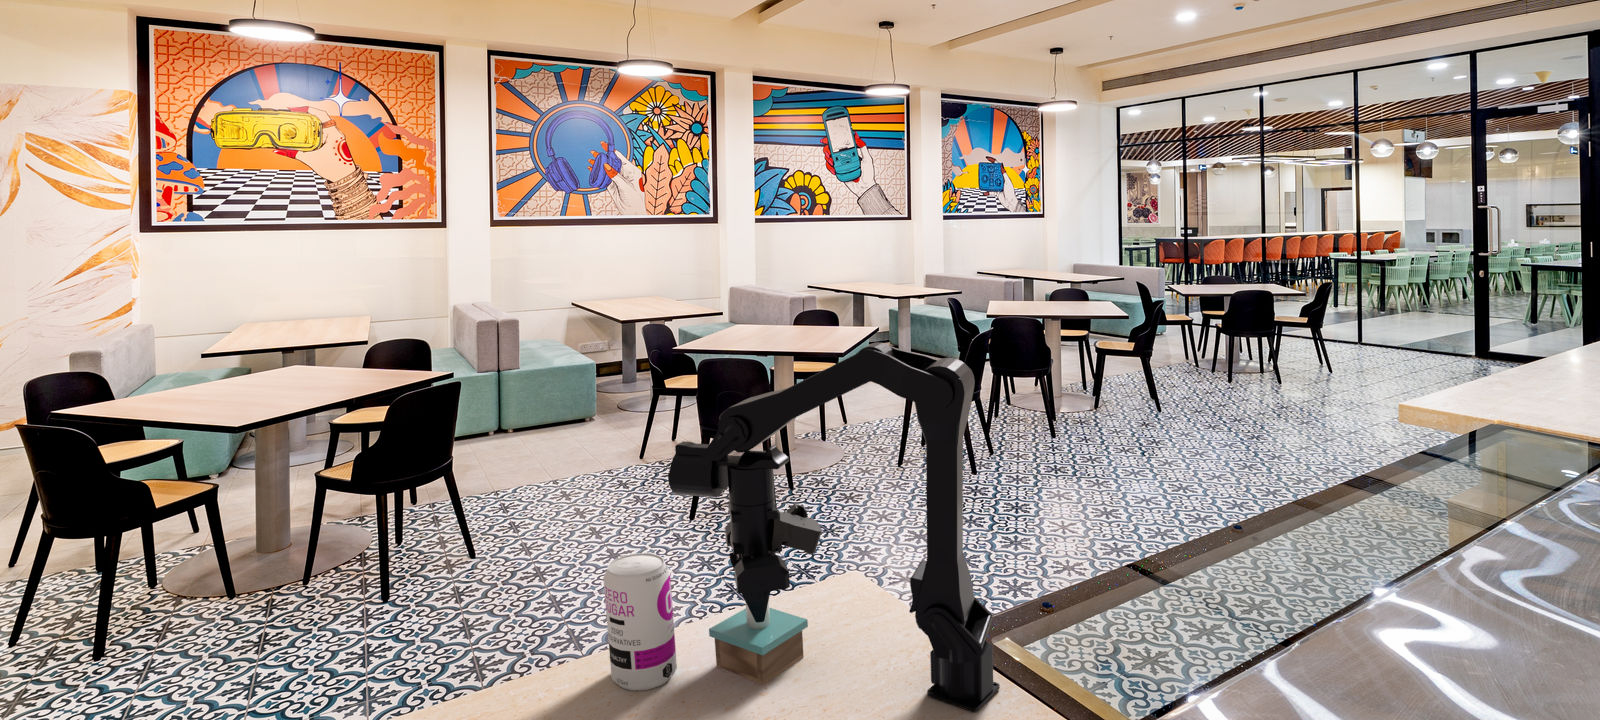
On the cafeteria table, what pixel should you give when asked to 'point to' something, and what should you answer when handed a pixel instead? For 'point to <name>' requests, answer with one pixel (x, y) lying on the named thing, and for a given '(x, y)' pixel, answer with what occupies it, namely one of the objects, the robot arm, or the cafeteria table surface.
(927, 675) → the cafeteria table surface
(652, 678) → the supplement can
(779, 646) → the box
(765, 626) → the lid
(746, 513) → the robot arm
